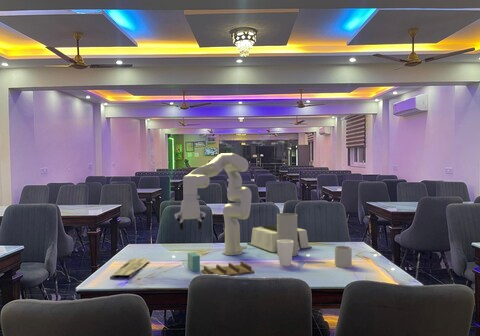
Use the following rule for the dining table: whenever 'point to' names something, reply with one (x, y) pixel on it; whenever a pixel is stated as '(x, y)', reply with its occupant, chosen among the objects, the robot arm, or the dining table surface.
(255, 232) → the cake box
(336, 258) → the mug
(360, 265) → the dining table surface
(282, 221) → the cylinder vase
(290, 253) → the foam cup
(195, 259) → the block
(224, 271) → the rack
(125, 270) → the newspaper
